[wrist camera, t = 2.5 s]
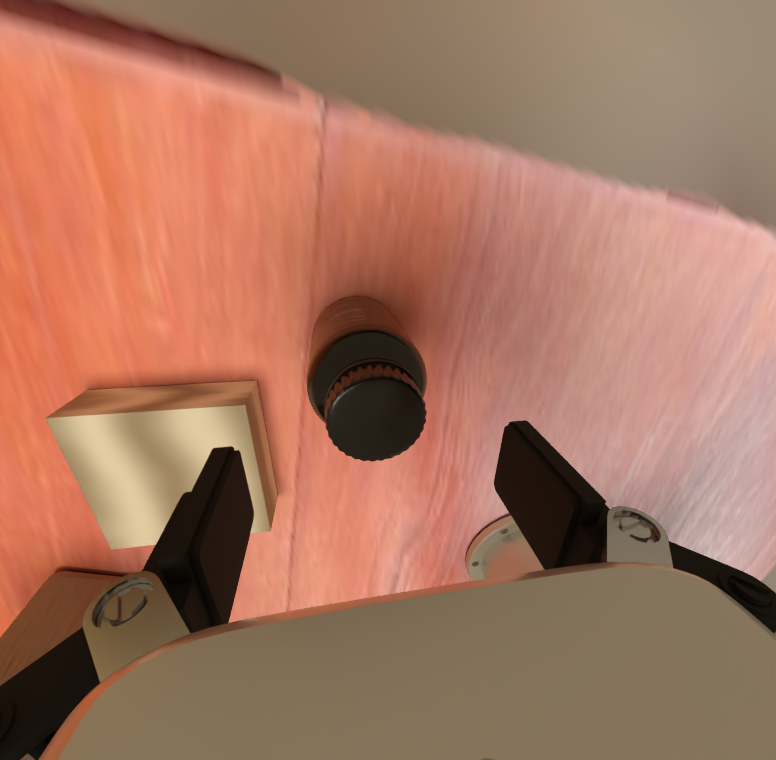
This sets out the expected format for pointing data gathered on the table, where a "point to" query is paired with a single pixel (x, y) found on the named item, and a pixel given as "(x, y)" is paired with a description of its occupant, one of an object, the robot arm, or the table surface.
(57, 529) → the table surface
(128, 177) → the table surface
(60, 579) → the block
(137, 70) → the table surface
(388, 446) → the supplement bottle
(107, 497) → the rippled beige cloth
